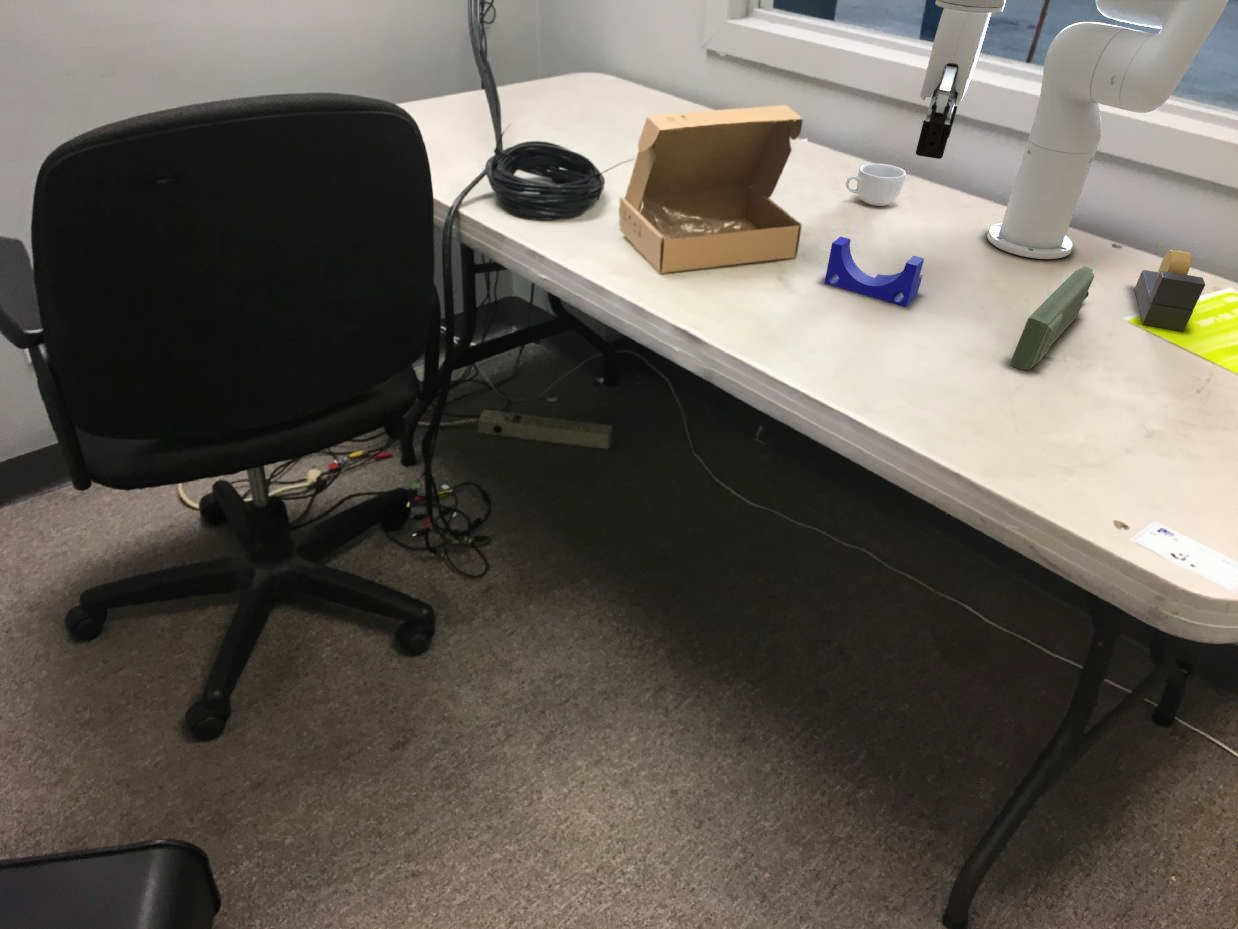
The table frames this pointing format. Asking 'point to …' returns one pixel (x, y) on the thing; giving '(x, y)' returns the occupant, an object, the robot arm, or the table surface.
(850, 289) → the blue semicircular clamp bracket
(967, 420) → the table surface
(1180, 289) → the tape dispenser
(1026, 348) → the handheld radio
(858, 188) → the teacup
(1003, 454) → the table surface
